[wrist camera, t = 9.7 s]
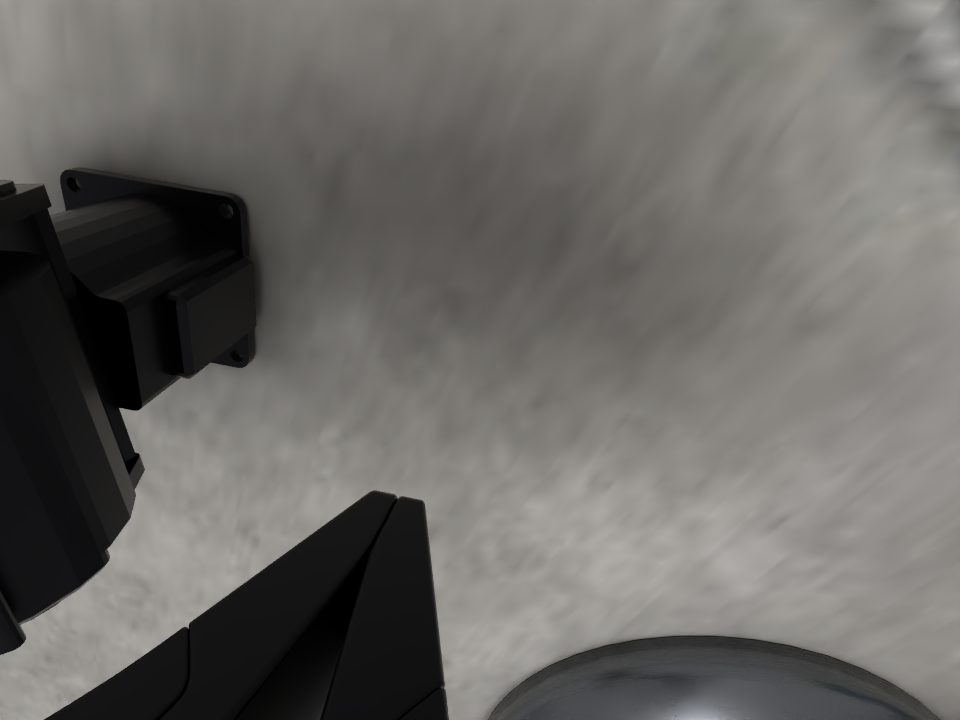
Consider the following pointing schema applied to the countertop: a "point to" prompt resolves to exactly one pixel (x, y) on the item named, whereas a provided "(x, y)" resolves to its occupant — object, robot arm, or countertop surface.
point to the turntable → (706, 685)
